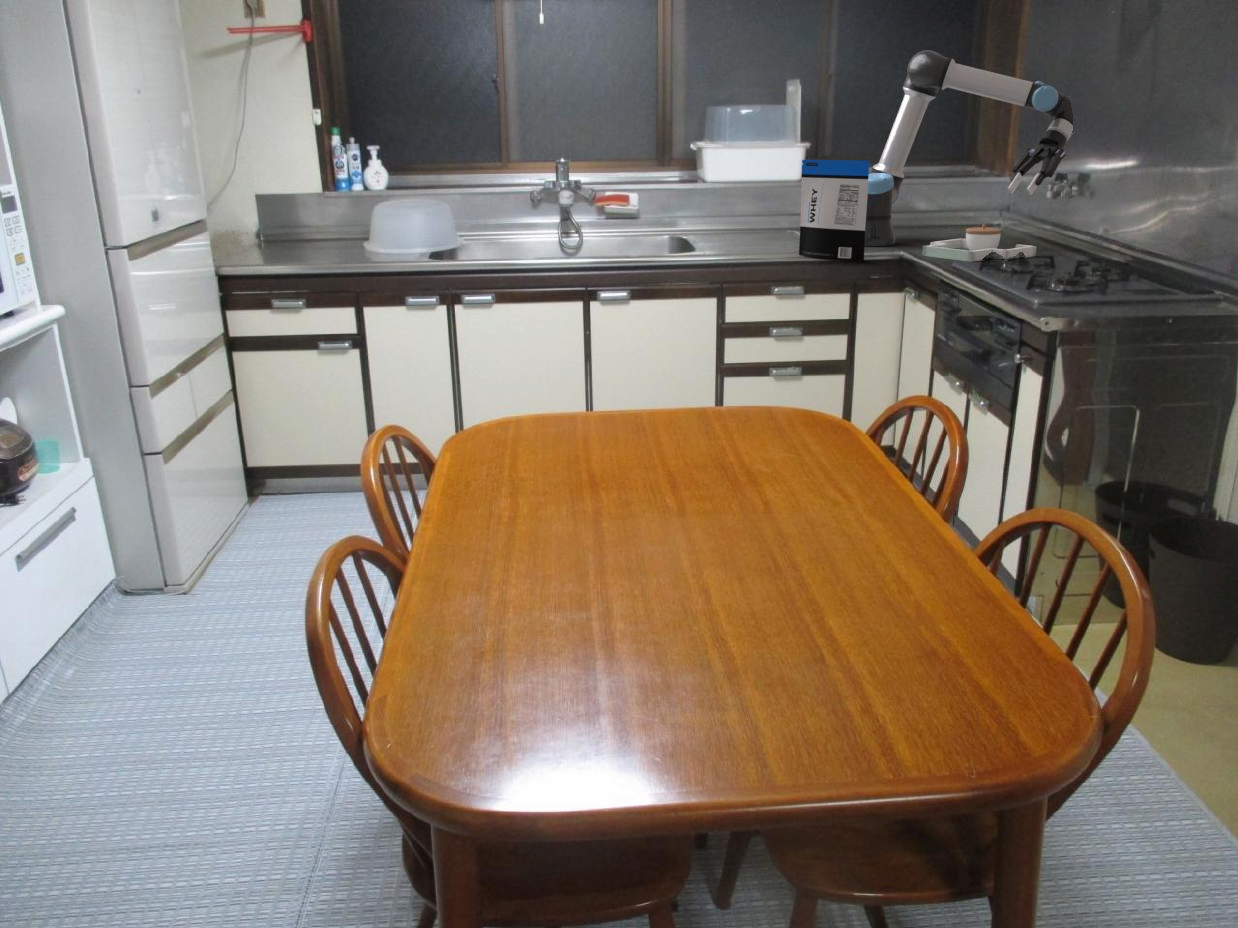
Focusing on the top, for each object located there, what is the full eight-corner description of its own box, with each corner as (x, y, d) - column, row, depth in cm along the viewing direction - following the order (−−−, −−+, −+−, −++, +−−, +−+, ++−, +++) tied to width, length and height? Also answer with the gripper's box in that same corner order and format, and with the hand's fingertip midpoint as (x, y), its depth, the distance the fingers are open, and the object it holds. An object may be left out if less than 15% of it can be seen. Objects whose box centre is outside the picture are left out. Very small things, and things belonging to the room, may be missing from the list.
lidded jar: (994, 251, 332) (997, 222, 329) (1002, 256, 322) (1005, 225, 319) (960, 251, 333) (963, 222, 330) (967, 256, 323) (970, 226, 320)
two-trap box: (909, 254, 330) (910, 244, 329) (959, 247, 343) (960, 238, 342) (984, 263, 307) (985, 253, 306) (1035, 256, 320) (1036, 246, 319)
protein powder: (855, 262, 316) (860, 161, 306) (790, 256, 332) (793, 160, 322) (871, 259, 322) (877, 160, 312) (807, 253, 338) (810, 159, 329)
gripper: (1087, 145, 328) (1050, 201, 325) (1034, 144, 343) (998, 197, 340) (1079, 128, 323) (1041, 184, 320) (1026, 128, 339) (989, 182, 336)
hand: (1019, 191), depth 330 cm, fingers open, 6 cm apart
